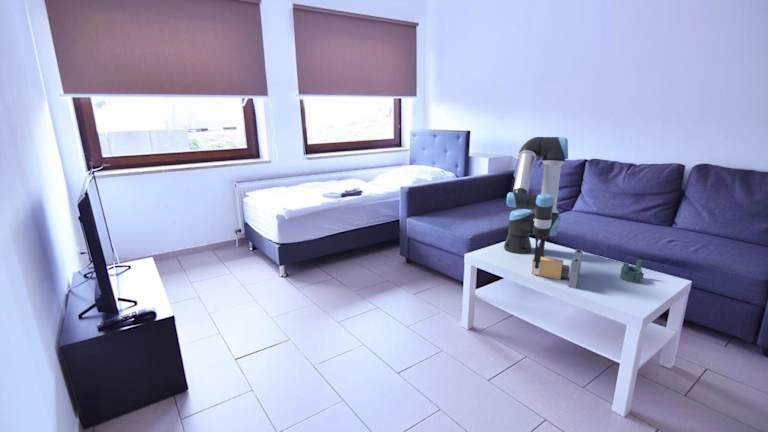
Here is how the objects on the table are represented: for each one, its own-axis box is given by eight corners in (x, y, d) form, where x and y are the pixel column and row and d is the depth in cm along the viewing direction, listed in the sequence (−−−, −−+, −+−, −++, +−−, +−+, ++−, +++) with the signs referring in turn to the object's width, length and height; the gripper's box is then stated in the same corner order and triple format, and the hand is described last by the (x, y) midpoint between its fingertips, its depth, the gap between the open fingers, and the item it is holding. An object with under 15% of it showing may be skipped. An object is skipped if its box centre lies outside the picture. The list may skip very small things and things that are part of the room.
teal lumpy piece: (620, 281, 182) (623, 263, 180) (619, 273, 190) (622, 256, 188) (643, 284, 178) (646, 266, 176) (641, 277, 186) (644, 260, 184)
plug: (533, 270, 195) (535, 255, 193) (568, 276, 187) (570, 261, 185) (531, 274, 190) (533, 258, 188) (567, 280, 182) (569, 264, 180)
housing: (572, 272, 191) (576, 247, 188) (579, 274, 190) (583, 248, 186) (568, 286, 176) (571, 259, 173) (575, 288, 174) (579, 261, 171)
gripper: (537, 221, 195) (532, 264, 201) (530, 230, 179) (525, 276, 185) (553, 223, 191) (548, 266, 197) (547, 232, 176) (542, 280, 182)
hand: (537, 271), depth 191 cm, fingers closed on plug, 5 cm apart
